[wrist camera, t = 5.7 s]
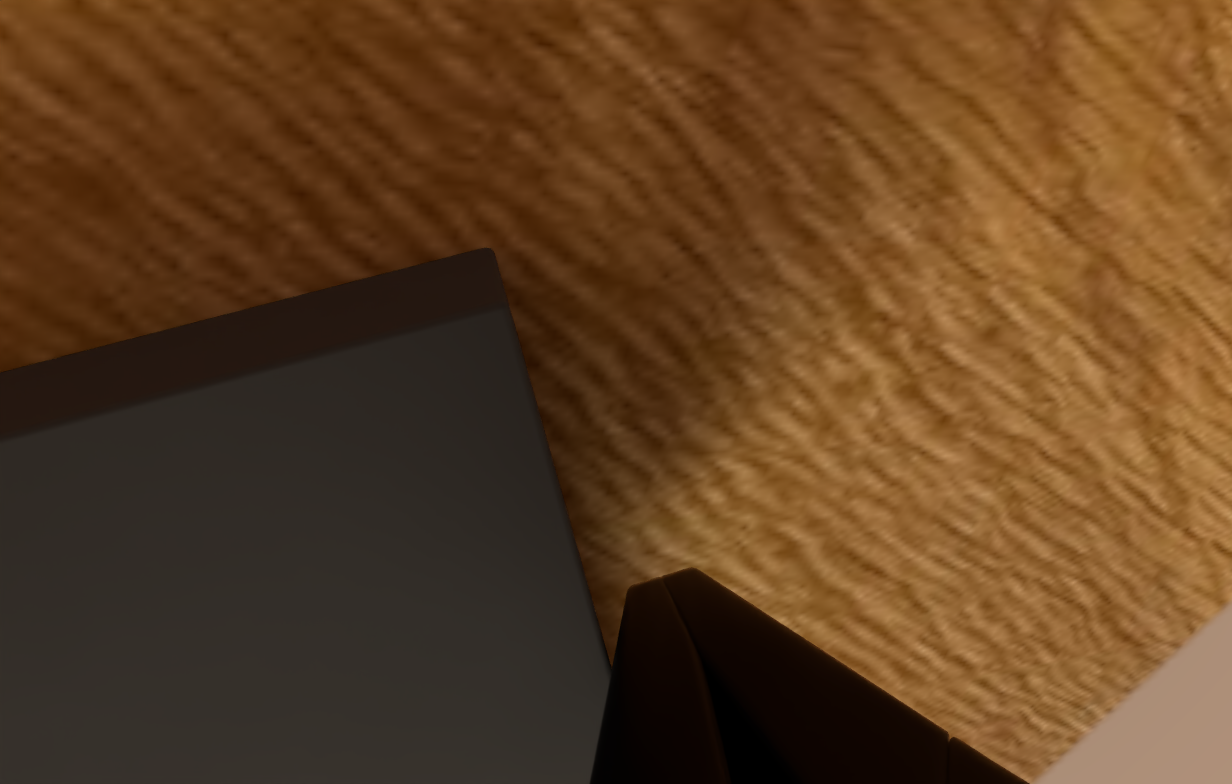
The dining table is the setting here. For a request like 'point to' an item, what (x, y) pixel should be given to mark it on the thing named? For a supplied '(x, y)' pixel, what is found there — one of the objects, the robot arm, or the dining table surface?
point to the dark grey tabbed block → (295, 551)
